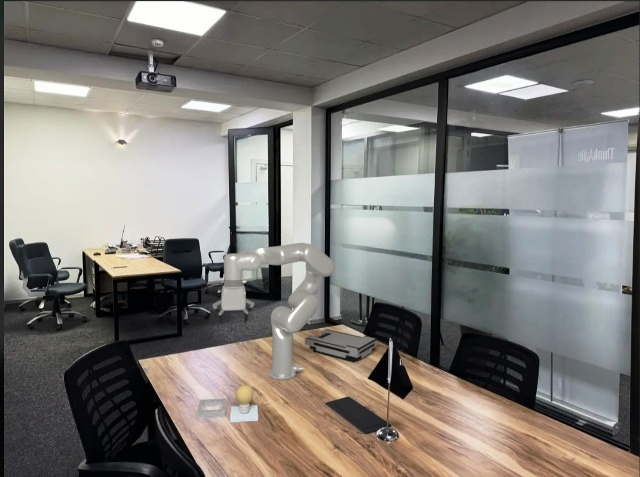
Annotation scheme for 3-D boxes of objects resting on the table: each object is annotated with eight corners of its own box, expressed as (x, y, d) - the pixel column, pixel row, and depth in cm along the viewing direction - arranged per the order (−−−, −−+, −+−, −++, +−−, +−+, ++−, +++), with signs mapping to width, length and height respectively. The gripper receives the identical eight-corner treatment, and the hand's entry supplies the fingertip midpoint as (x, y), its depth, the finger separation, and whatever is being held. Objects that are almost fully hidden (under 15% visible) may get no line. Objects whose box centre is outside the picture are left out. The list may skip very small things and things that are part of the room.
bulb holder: (226, 404, 166) (226, 398, 166) (224, 417, 157) (224, 410, 157) (200, 405, 165) (200, 399, 165) (197, 418, 155) (197, 412, 155)
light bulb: (249, 417, 155) (249, 390, 154) (233, 415, 156) (233, 388, 156) (255, 408, 161) (255, 383, 161) (239, 406, 163) (239, 381, 162)
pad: (257, 407, 165) (257, 404, 165) (258, 420, 155) (258, 418, 155) (231, 409, 163) (231, 406, 163) (230, 422, 153) (230, 419, 153)
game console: (326, 340, 245) (326, 326, 244) (376, 352, 227) (376, 337, 226) (304, 351, 228) (305, 336, 227) (356, 364, 210) (357, 348, 209)
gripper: (254, 280, 183) (254, 319, 185) (212, 281, 180) (213, 321, 182) (254, 284, 176) (254, 324, 177) (211, 285, 173) (212, 326, 174)
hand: (233, 323), depth 179 cm, fingers open, 9 cm apart
